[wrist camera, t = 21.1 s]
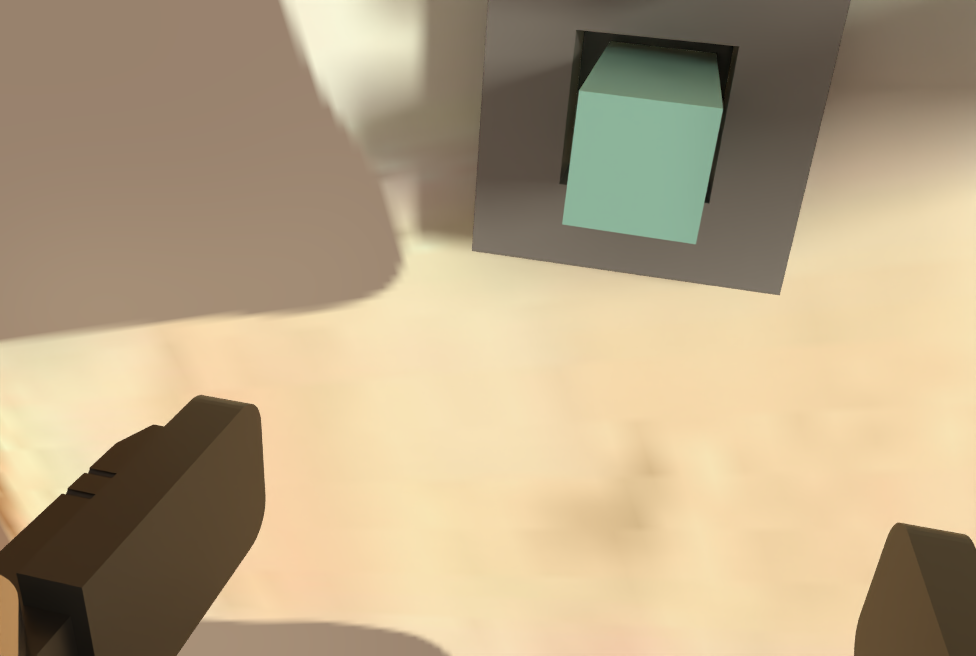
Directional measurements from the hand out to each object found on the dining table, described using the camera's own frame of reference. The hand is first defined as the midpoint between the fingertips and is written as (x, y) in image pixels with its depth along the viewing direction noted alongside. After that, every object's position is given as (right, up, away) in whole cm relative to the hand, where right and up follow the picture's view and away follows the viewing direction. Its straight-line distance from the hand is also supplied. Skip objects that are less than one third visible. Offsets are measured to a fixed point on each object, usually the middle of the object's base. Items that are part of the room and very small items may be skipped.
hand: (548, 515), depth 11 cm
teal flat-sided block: (+6, +11, +23) cm, 26 cm away
